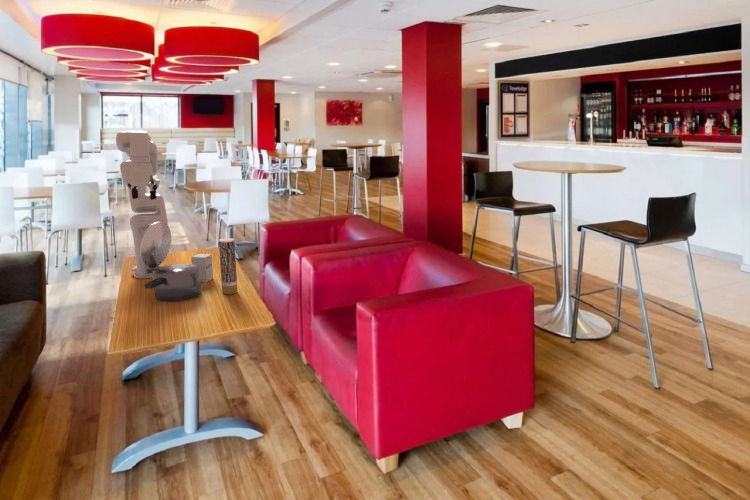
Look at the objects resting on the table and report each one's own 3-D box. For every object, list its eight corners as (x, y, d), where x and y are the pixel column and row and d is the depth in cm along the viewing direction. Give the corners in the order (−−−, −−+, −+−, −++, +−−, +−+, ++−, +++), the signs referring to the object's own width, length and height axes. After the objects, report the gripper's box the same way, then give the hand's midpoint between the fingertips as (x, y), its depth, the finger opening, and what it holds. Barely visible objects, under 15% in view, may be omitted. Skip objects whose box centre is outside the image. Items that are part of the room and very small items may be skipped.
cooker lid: (140, 273, 239) (133, 271, 240) (169, 261, 259) (163, 259, 260) (143, 227, 234) (136, 225, 234) (172, 218, 253) (166, 217, 254)
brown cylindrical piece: (230, 289, 257) (227, 237, 252) (240, 292, 254) (237, 239, 248) (219, 293, 252) (215, 240, 246) (229, 295, 248) (225, 241, 242)
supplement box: (206, 282, 268) (204, 257, 265) (192, 281, 270) (190, 256, 267) (213, 278, 275) (212, 254, 273) (200, 277, 277) (198, 253, 274)
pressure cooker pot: (123, 306, 234) (120, 279, 231) (166, 286, 262) (164, 262, 259) (171, 311, 228) (168, 283, 225) (209, 290, 256) (207, 265, 254)
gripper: (118, 160, 241) (122, 199, 245) (151, 161, 236) (155, 200, 240) (130, 159, 248) (134, 197, 252) (162, 160, 243) (166, 198, 247)
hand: (144, 198), depth 246 cm, fingers open, 9 cm apart
